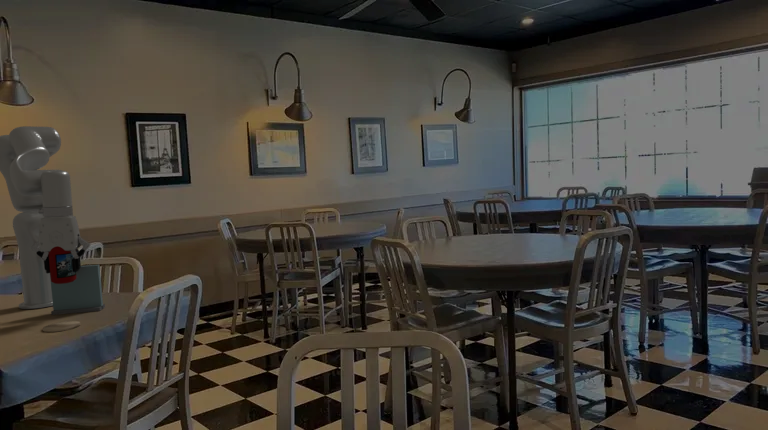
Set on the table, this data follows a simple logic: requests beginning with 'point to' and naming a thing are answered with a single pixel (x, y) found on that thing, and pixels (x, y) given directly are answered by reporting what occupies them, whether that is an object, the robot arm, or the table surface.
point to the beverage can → (61, 266)
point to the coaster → (61, 326)
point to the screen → (79, 292)
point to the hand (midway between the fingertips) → (63, 271)
